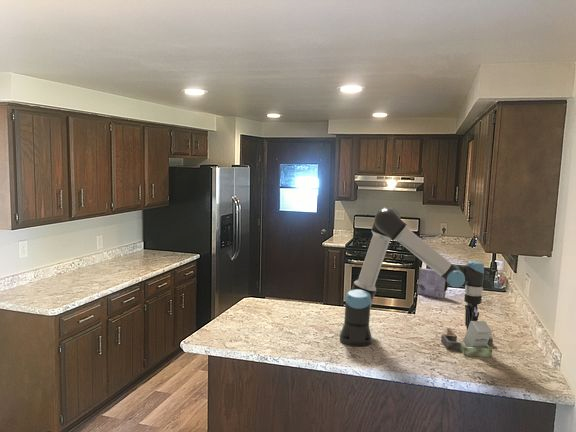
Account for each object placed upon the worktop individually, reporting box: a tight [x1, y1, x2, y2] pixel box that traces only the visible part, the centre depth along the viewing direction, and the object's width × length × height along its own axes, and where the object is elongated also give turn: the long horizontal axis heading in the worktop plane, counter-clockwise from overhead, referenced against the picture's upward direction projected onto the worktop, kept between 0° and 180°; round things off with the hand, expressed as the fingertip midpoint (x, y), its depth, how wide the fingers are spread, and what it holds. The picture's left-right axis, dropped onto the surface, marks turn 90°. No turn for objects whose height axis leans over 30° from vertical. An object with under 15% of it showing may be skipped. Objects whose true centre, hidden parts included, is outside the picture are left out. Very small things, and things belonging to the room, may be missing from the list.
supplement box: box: [462, 320, 493, 348], centre depth 221 cm, size 7×7×13 cm
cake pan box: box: [416, 267, 449, 299], centre depth 323 cm, size 19×5×18 cm, turn 58°
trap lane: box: [440, 328, 494, 358], centre depth 229 cm, size 24×27×4 cm
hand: (468, 342), depth 228 cm, fingers closed
